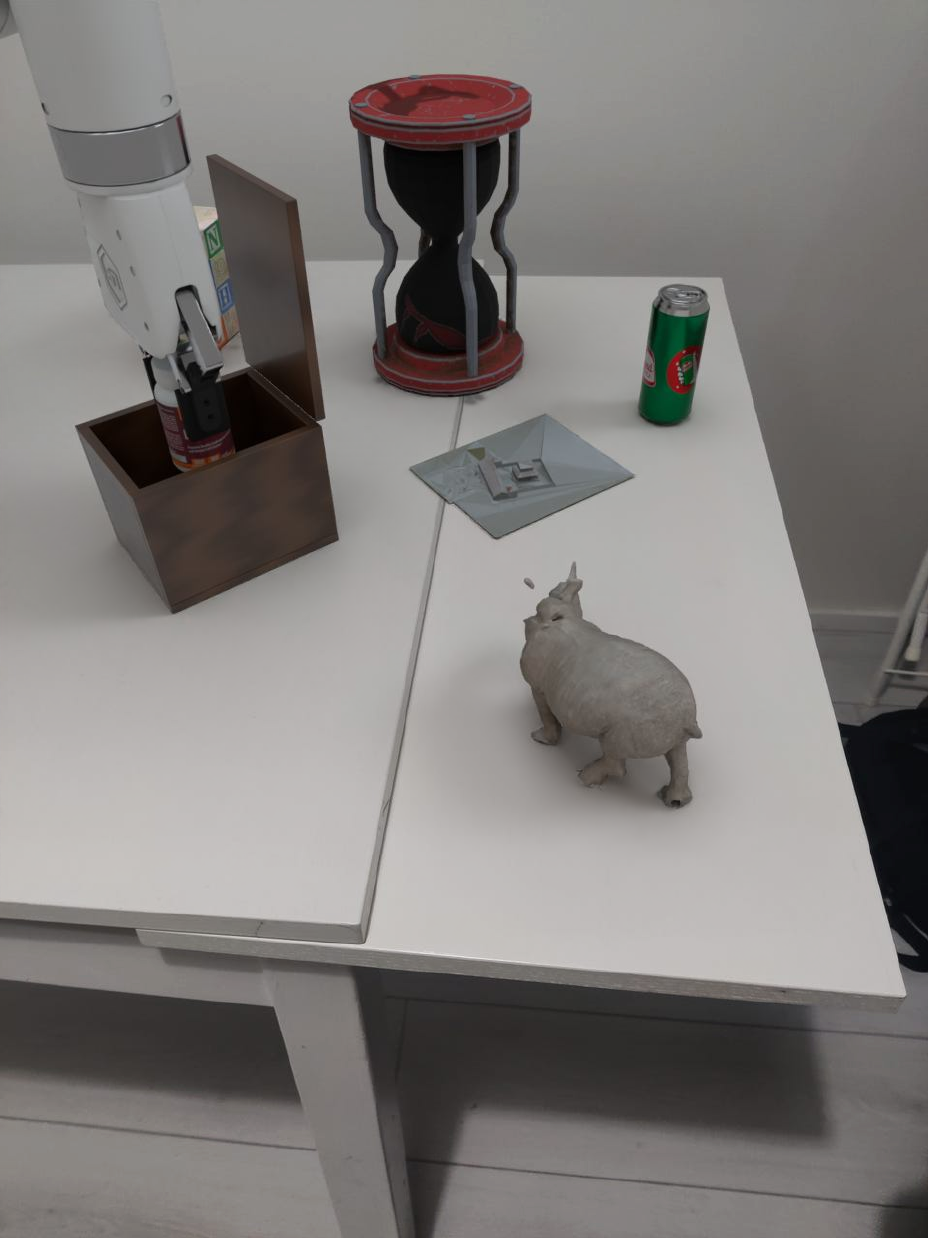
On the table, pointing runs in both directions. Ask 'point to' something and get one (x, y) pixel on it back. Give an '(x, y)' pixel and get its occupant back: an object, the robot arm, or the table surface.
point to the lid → (268, 281)
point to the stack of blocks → (217, 271)
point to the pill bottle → (180, 446)
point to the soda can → (673, 353)
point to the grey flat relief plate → (521, 474)
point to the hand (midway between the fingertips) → (192, 415)
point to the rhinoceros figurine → (606, 692)
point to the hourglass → (443, 226)
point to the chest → (214, 492)
